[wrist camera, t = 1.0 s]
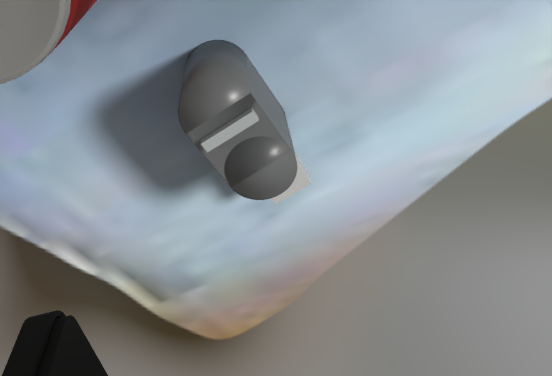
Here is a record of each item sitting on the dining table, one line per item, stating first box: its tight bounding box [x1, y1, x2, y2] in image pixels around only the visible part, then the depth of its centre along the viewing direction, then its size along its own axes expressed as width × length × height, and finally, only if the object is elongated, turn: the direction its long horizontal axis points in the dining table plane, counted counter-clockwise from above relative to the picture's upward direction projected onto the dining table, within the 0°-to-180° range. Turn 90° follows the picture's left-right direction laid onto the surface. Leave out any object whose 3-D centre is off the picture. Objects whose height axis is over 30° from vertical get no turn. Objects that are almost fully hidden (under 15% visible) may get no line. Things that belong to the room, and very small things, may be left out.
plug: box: [178, 40, 311, 204], centre depth 31 cm, size 10×4×6 cm, turn 33°
